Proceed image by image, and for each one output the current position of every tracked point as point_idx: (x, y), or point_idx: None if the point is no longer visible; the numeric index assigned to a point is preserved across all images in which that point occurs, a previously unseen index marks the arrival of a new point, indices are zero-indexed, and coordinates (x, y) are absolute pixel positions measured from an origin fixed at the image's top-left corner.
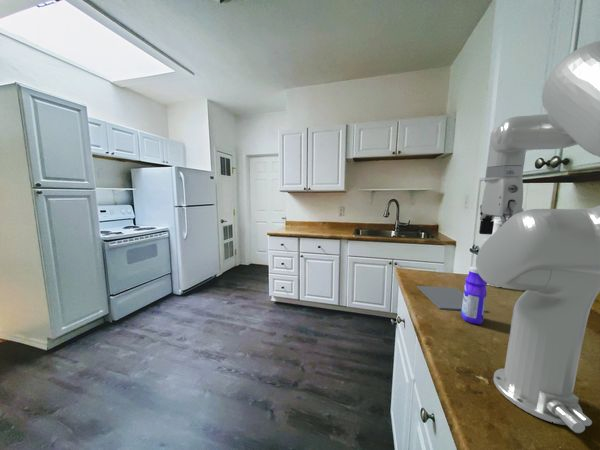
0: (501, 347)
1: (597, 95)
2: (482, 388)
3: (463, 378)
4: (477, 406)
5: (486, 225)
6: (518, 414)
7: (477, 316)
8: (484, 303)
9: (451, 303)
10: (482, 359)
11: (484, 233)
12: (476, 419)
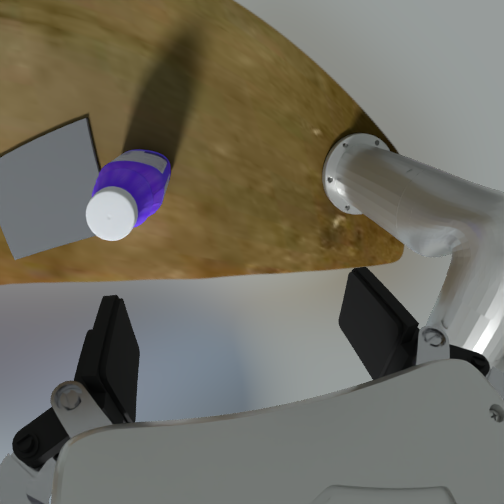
0: (251, 152)
1: None
2: (353, 228)
3: (340, 244)
4: (375, 243)
5: (126, 379)
6: None
7: (169, 172)
8: (159, 165)
9: (78, 197)
10: (297, 203)
11: (133, 336)
12: (386, 249)
